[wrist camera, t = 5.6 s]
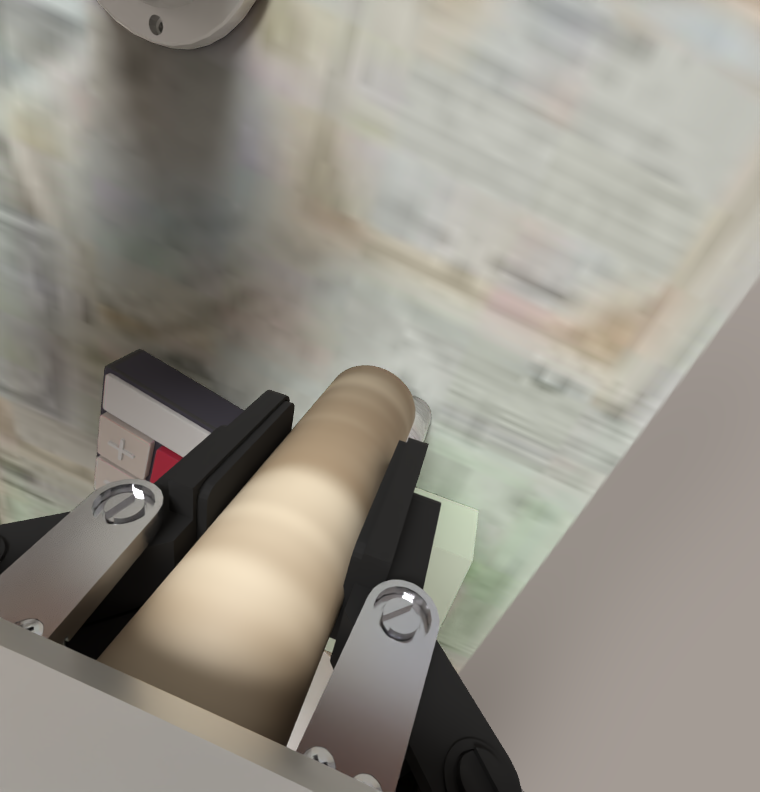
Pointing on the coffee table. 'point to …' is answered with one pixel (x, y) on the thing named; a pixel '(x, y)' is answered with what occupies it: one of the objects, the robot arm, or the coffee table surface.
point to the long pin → (272, 565)
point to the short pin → (420, 420)
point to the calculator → (152, 418)
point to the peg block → (447, 554)
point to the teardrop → (311, 700)
